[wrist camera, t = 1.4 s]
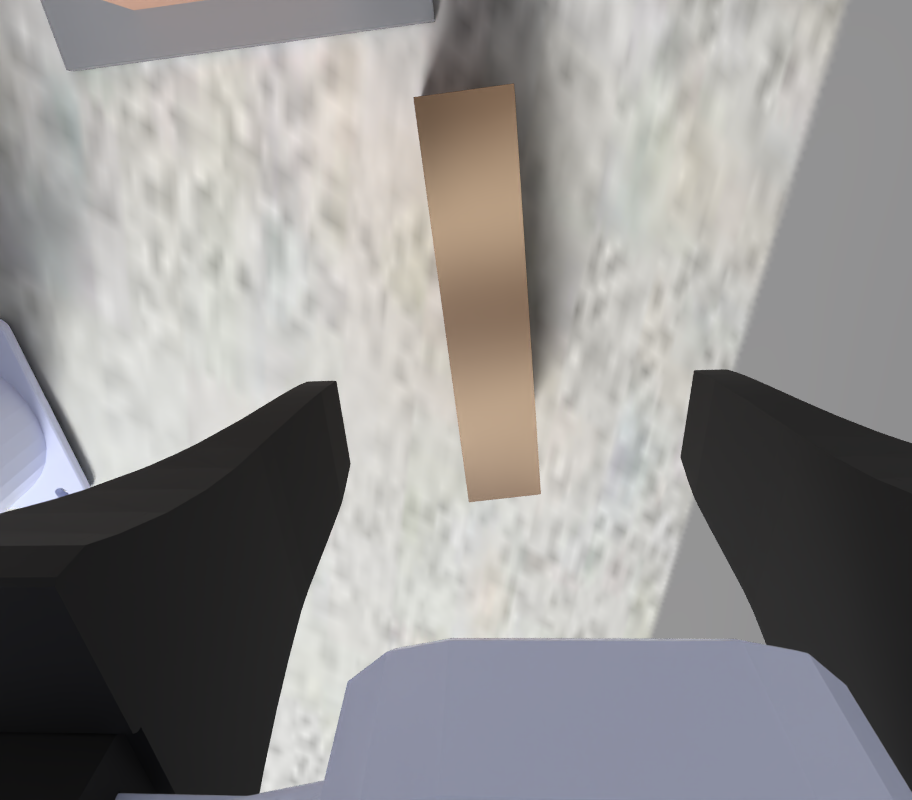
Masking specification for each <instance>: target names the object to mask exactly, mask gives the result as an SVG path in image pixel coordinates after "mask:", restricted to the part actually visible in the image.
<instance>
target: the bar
mask: <svg viewBox="0 0 912 800" xmlns="http://www.w3.org/2000/svg"><path fill="white" fill-rule="evenodd" d="M413 98H414V105H415V112H416V119H417V127H418V134H419V141H420V149H421V156H422V163H423V170H424V178H425V185H426V192H427V200H428V207H429V214H430V221H431V229H432V236H433V243H434V251H435V258H436V265H437V272H438V280H439V287H440V294H441V302H442V309H443V316H444V323H445V331H446V338H447V345H448V353H449V360H450V367H451V374H452V382H453V389H454V396H455V404H456V411H457V418H458V425H459V433H460V440H461V447H462V455H463V462H464V469H465V476H466V484H467V491H468V498H469V502H475V501H484V500H493V499H502V498H511V497H520V496H529V495H538V494H541V490H540V474H539V459H538V444H537V428H536V413H535V398H534V382H533V367H532V351H531V336H530V321H529V305H528V290H527V275H526V259H525V244H524V228H523V213H522V198H521V182H520V167H519V152H518V136H517V121H516V105H515V90H514V84H506V85H499V86H492V87H485V88H477V89H470V90H463V91H455V92H448V93H441V94H434V95H426V96H419V97H413Z"/></svg>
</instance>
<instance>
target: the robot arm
mask: <svg viewBox="0 0 912 800" xmlns="http://www.w3.org/2000/svg"><path fill="white" fill-rule="evenodd" d="M681 460H682V463H683V466H684V470H685V473H686V476H687V479H688V482H689V484H690V487H691V490H692V493H693V495H694V498H695V500H696V502H697V504H698V506H699V508H700V510H701V512H702V513H703V516H704V517H705V519H706V521H707V523H708V525H709V527H710V529H711V531H712V533H713V535H714V536H715V538H716V540H717V542H718V544H719V546H720V547H721V549H722V551H723V553H724V555H725V557H726V559H727V561H728V562H729V564H730V566H731V568H732V570H733V572H734V573H735V576H736V577H737V579H738V581H739V583H740V585H741V587H742V589H743V590H744V593H745V595H746V597H747V599H748V601H749V603H750V605H751V608H752V610H753V612H754V614H755V617H756V620H757V622H758V624H759V627H760V629H761V632H762V634H763V637H764V639H765V642H766V645H764V644H760V643H754V642H749V641H744V640H738V639H574V638H449V639H444V640H439V641H433V642H428V643H422V644H417V645H412V646H406V647H401V648H396V649H393V650H390V651H388V652H386V653H385V654H383V655H382V656H381V657H379V658H378V659H377V660H375V661H374V662H373V663H372V664H370V665H369V666H368V667H366V668H365V669H364V670H362V671H361V672H360V673H358V674H357V675H356V676H355V677H353V678H352V679H351V680H349V681H348V683H347V687H346V691H345V695H344V700H343V704H342V708H341V712H340V716H339V721H338V725H337V729H336V733H335V737H334V742H333V746H332V750H331V754H330V759H329V763H328V767H327V771H326V775H325V780H323V781H318V782H313V783H308V784H304V785H299V786H294V787H289V788H284V789H279V790H274V791H269V792H264V793H260V787H261V782H262V777H263V771H264V767H265V762H266V757H267V753H268V748H269V743H270V738H271V734H272V729H273V724H274V720H275V715H276V710H277V706H278V702H279V697H280V693H281V689H282V685H283V681H284V677H285V672H286V668H287V664H288V660H289V656H290V652H291V648H292V644H293V640H294V637H295V633H296V629H297V625H298V621H299V618H300V614H301V610H302V607H303V604H304V601H305V598H306V595H307V592H308V589H309V587H310V584H311V582H312V579H313V577H314V574H315V572H316V569H317V566H318V564H319V561H320V559H321V556H322V554H323V551H324V548H325V546H326V543H327V541H328V538H329V536H330V533H331V530H332V528H333V525H334V523H335V520H336V517H337V515H338V512H339V509H340V506H341V504H342V500H343V496H344V492H345V487H346V483H347V478H348V473H349V468H350V458H349V452H348V447H347V441H346V435H345V429H344V423H343V417H342V412H341V406H340V400H339V394H338V388H337V382H336V381H314V382H305V383H303V384H301V385H299V386H297V387H295V388H293V389H291V390H289V391H288V392H286V393H284V394H282V395H281V396H279V397H277V398H276V399H274V400H273V401H271V402H269V403H268V404H266V405H264V406H263V407H261V408H259V409H258V410H256V411H254V412H253V413H251V414H249V415H248V416H246V417H245V418H243V419H241V420H239V421H238V422H236V423H234V424H232V425H230V426H229V427H227V428H225V429H223V430H221V431H220V432H218V433H216V434H214V435H212V436H211V437H209V438H207V439H205V440H203V441H202V442H200V443H198V444H196V445H194V446H192V447H190V448H188V449H185V450H183V451H181V452H179V453H177V454H175V455H173V456H170V457H168V458H166V459H164V460H161V461H159V462H157V463H155V464H152V465H150V466H147V467H145V468H143V469H140V470H137V471H135V472H132V473H129V474H126V475H124V476H121V477H118V478H115V479H113V480H110V481H107V482H104V483H102V484H99V485H96V486H94V487H91V488H90V485H89V483H88V481H87V479H86V477H85V475H84V473H83V471H82V469H81V467H80V465H79V463H78V461H77V459H76V457H75V455H74V453H73V451H72V449H71V447H70V445H69V443H68V441H67V439H66V437H65V435H64V433H63V431H62V429H61V427H60V425H59V423H58V421H57V419H56V417H55V415H54V413H53V411H52V409H51V407H50V405H49V403H48V402H47V400H46V398H45V396H44V394H43V392H42V390H41V388H40V386H39V384H38V382H37V380H36V378H35V376H34V374H33V372H32V370H31V368H30V366H29V364H28V362H27V360H26V358H25V356H24V354H23V352H22V350H21V348H20V346H19V344H18V342H17V340H16V338H15V336H14V334H13V332H12V330H11V328H10V327H9V325H8V324H7V323H6V322H4V321H3V320H2V319H0V800H912V443H909V442H906V441H903V440H900V439H897V438H894V437H891V436H888V435H885V434H883V433H880V432H877V431H874V430H872V429H869V428H867V427H864V426H862V425H859V424H856V423H854V422H851V421H849V420H846V419H844V418H841V417H839V416H836V415H834V414H832V413H829V412H827V411H825V410H822V409H820V408H818V407H815V406H813V405H811V404H808V403H806V402H804V401H801V400H799V399H797V398H795V397H793V396H790V395H788V394H786V393H784V392H782V391H779V390H777V389H775V388H773V387H770V386H768V385H766V384H763V383H761V382H759V381H757V380H754V379H752V378H750V377H747V376H745V375H742V374H739V373H737V372H733V371H730V370H694V375H693V381H692V387H691V394H690V400H689V407H688V413H687V419H686V426H685V432H684V438H683V445H682V451H681ZM61 488H62V489H64V490H66V491H67V492H68V493H67V492H65V491H63V490H62V489H61ZM22 507H23V508H22ZM13 508H20V509H16V510H12V511H8V512H5V511H6V510H7V509H13Z"/></svg>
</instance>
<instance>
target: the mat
mask: <svg viewBox="0 0 912 800" xmlns="http://www.w3.org/2000/svg"><path fill="white" fill-rule="evenodd" d="M41 3H42V6H43V8H44V11H45V14H46V16H47V19H48V22H49V24H50V27H51V30H52V32H53V35H54V38H55V40H56V43H57V46H58V48H59V51H60V54H61V56H62V59H63V62H64V64H65V67H66V70H69V71H79V70H87V69H94V68H101V67H108V66H116V65H123V64H130V63H138V62H145V61H152V60H159V59H167V58H174V57H181V56H188V55H196V54H203V53H210V52H218V51H225V50H232V49H239V48H247V47H254V46H261V45H269V44H276V43H283V42H290V41H298V40H305V39H312V38H320V37H327V36H334V35H341V34H349V33H356V32H363V31H371V30H378V29H385V28H392V27H400V26H407V25H414V24H422V23H429V22H435V19H434V10H433V1H432V0H204V1H197V2H189V3H182V4H175V5H168V6H161V7H154V8H147V9H140V10H131V9H128V8H125V7H122V6H119V5H116V4H113V3H110V2H107V1H104V0H41Z"/></svg>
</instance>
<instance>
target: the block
mask: <svg viewBox="0 0 912 800" xmlns="http://www.w3.org/2000/svg"><path fill="white" fill-rule="evenodd" d="M104 1H107V2H110V3H113V4H116V5H119V6H122V7H125V8H128V9H131V10H140V9H147V8H154V7H161V6H168V5H175V4H182V3H189V2H197V1H204V0H104Z"/></svg>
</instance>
